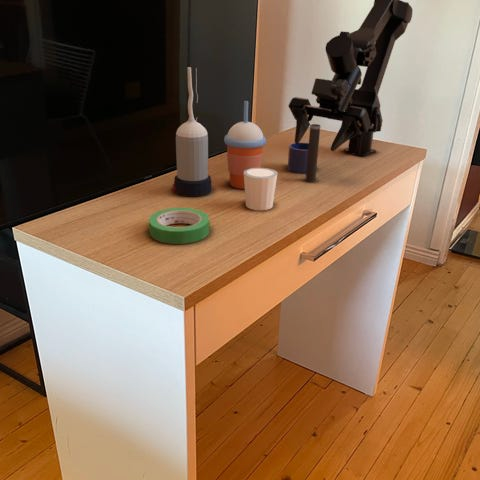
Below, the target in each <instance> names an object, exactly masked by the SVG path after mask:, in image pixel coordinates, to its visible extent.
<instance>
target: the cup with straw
mask: <svg viewBox="0 0 480 480" xmlns="http://www.w3.org/2000/svg"><path fill="white" fill-rule="evenodd" d="M223 142H224V144H225V146H227V147H226V148H227V150H226V158H227V169H228V171H227V172H229V173H228V174H229V183H230V186H231V187H233V188H235V189H239V190H245V186H244V171H245V170H247V169H250V168H262V161H263V155H264V154H263V153H264V151H263V147H264V146H265V145H266V143H267V138H266V136H265V135H264V133H263V131H262V129H261V128H260V127H259V126H258V125H257V124H255V123H254V122H251V121H249V101H248V100H244V101H243V121H239V122H237V123H235V124H234V125H232V126H231V127H230V129H228V132H227V134H225V135H224V139H223Z"/></svg>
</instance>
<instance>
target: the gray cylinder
mask: <svg viewBox="0 0 480 480" xmlns="http://www.w3.org/2000/svg"><path fill="white" fill-rule="evenodd" d="M320 134H321V125H320V124H317V123H313V124H310V126H309V137H308V138H309V139H308V143H309V147H308V159H307V171H306V173H305V181H306V182H308V183H314V182H316V177H317V176H316V175H317V165H318V158H319V157H318V155H319V144H320Z"/></svg>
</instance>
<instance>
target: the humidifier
mask: <svg viewBox="0 0 480 480" xmlns="http://www.w3.org/2000/svg"><path fill="white" fill-rule="evenodd" d="M197 73H198V72H197V67H196V68H195V88H197V87H198V85H197V84H198V81H197V78H198V77H197V75H198V74H197ZM187 91H188V100H187V111H188V119H187V121H185V122H184V123H182V124H181V125H180V126H178V128H177V130H176V132H175V154H176V155H175V156H176V175H175V176H174V181H173V182H174V183H173V184H172V190H173V192H174V193H175V194H176V195H178V196H182V197H187V198H198V197H199V198H200V197H205V196H207V195H210V194H211V193H212V176H210V175H209V135H208V131H207V128H206V127H204V126H203V125H202V124H201V123H199V122H198V121H197V120H198V118H196V119H195V117H194V111H193V101H194V91H193V79H192V67H190V66H188V67H187ZM195 92H196V93H195V94H196V102H198V100H199V95H198V92H197V90H195Z"/></svg>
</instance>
